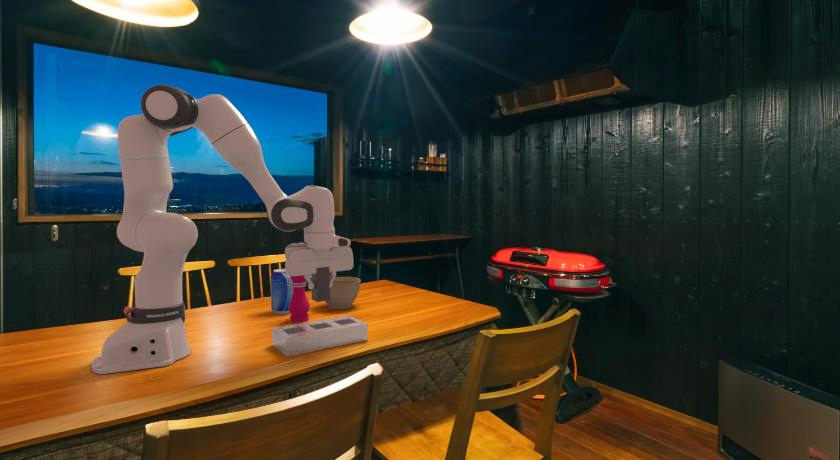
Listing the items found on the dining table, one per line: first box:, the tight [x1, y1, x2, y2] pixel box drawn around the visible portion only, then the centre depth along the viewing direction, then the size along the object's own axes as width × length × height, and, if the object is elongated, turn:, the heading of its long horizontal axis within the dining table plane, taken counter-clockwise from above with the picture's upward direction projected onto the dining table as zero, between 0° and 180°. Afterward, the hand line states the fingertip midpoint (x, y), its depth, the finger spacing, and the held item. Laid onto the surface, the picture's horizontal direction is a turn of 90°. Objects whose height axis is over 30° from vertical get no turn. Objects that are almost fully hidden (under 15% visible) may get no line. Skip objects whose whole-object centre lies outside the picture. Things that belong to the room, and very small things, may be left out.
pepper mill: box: [289, 275, 311, 323], centre depth 159 cm, size 7×7×20 cm
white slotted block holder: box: [271, 315, 369, 357], centre depth 135 cm, size 25×12×5 cm, turn 126°
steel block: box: [310, 267, 330, 303], centre depth 134 cm, size 4×4×10 cm
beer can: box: [270, 268, 293, 315], centre depth 170 cm, size 8×8×16 cm
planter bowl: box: [324, 276, 362, 310], centre depth 178 cm, size 16×16×11 cm
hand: (320, 287), depth 134 cm, fingers closed on steel block, 4 cm apart
